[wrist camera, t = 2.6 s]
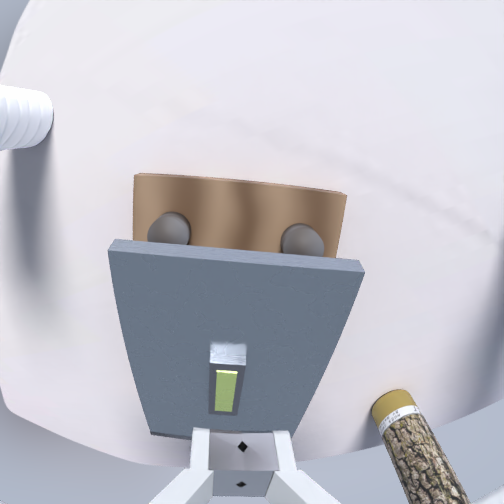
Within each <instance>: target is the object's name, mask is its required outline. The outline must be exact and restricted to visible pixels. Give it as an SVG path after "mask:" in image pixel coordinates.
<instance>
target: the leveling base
mask: <svg viewBox="0 0 504 504" xmlns="http://www.w3.org/2000/svg"><path fill="white" fill-rule="evenodd" d="M346 198H347V195H345V194H343V193H341V192H336V191H329V190H322V189H315V188H307V187H300V186H292V185H283V184H275V183H266V182H256V181H246V180H236V179H224V178H213V177H199V176H185V175H169V174H149V173H139V174H136V175H134V190H133V241H145V242H156V243H168V244H179V245H191V246H202V247H214V248H225V249H237V250H248V251H260V252H271V253H283V254H294V255H306V256H317V257H328V258H336V254H337V249H338V243H339V238H340V233H341V227H342V222H343V216H344V210H345V204H346Z"/></svg>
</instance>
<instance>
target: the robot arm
mask: <svg viewBox="0 0 504 504" xmlns="http://www.w3.org/2000/svg"><path fill="white" fill-rule="evenodd" d="M209 435H210V438H209ZM212 496H248V497H265V498H266V500H267V501H268V502H269V503H270V504H341V503H340V502H339V501H337V500H336V499H335V498H334V497H332V496H331V495H330V494H329V493H328V492H326V491H325V490H324V489H323V488H322V487H321V486H319V485H318V484H317V483H316V482H315V481H314V480H312V479H311V478H310V477H309V476H308V475H307V474H306V473H305V472H304V471H303V470H297V466H296V461H295V457H294V452H293V447H292V442H291V438H290V433H289V432H288V431H271V430H270V431H243V430H241V431H232V430H219V429H208V428H196V427H194V428H193V433H192V444H191V456H190V468H184V469H183V470H182V471H181V472H180V473H179V474H178V475H177V477H175V478H174V479H173V480H172V481H171V482H170V484H168V485H167V486H166V487H165V488H164V489H163V490H162V491H161V492H160V493H159V494H158V495H157V496H156V497H155V498H154V499H153V500H152V501H151V502H150V503H148V504H207V503H208V502H209V501H210V499H211V498H212ZM0 504H6V503H4V502H2V501H1V500H0ZM470 504H504V485H502V486H501V487H499V488H498V489H496V490H494V491H492V492H491V493H489V494H487V495H485V496H483V497H482V498H480V499H478V500H476V501H474V502H472V503H470Z"/></svg>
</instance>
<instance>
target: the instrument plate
mask: <svg viewBox="0 0 504 504" xmlns="http://www.w3.org/2000/svg"><path fill="white" fill-rule="evenodd" d="M108 257H109V264H110V270H111V276H112V282H113V288H114V294H115V299H116V304H117V309H118V314H119V319H120V324H121V329H122V333H123V337H124V342H125V346H126V350H127V354H128V358H129V362H130V366H131V370H132V373H133V377H134V381H135V384H136V388H137V391H138V394H139V398H140V401H141V404H142V407H143V411H144V414H145V417H146V420H147V423H148V426H149V429H150V433H151V435H157V436H164V437H171V438H179V439H187V440H192V433H193V428H194V427H196V428H208V429H219V430H232V431H241V430H243V431H270V430H271V431H288V432H289V433H290V438H292V436H293V434H294V432H295V430H296V429H297V427H298V425H299V423H300V421H301V419H302V417H303V415H304V413H305V411H306V409H307V407H308V405H309V403H310V401H311V399H312V397H313V395H314V393H315V391H316V389H317V387H318V385H319V383H320V381H321V378H322V376H323V374H324V372H325V370H326V368H327V365H328V363H329V361H330V359H331V357H332V354H333V352H334V350H335V347H336V345H337V343H338V340H339V338H340V336H341V333H342V331H343V329H344V326H345V324H346V321H347V319H348V316H349V314H350V311H351V309H352V306H353V304H354V301H355V298H356V296H357V293H358V290H359V288H360V285H361V282H362V280H363V277H364V274H365V271H364V269H363V267H362V265H361V264H360V262H359V260H351V259H340V258H328V257H317V256H306V255H294V254H283V253H271V252H260V251H248V250H237V249H225V248H214V247H202V246H191V245H179V244H168V243H156V242H145V241H133V240H121V239H115V240H114V241H113V243H112V244H111V246H110V247H109V249H108ZM209 438H210V435H209Z"/></svg>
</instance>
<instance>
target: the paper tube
mask: <svg viewBox="0 0 504 504" xmlns="http://www.w3.org/2000/svg"><path fill="white" fill-rule="evenodd" d="M372 416H373V418H374V421H375V423H376V425H377V427H378V430H379V432H380V435H381V437H382V439H383V442H384V444H385V446H386V449H387V451H388V453H389V455H390V458H391V460H392V463H393V465H394V467H395V470H396V472H397V474H398V477H399V479H400V482H401V484H402V487H403V489H404V492H405V494H406V497H407V499H408V502H409V504H470V501H469V499H468V497H467V495H466V493H465V491H464V489H463V487H462V485H461V483H460V482H459V480H458V478H457V476H456V474H455V472H454V470H453V468H452V467H451V465H450V463H449V461H448V459H447V457H446V455H445V454H444V452H443V450H442V448H441V446H440V445H439V443H438V441H437V439H436V438H435V436H434V434H433V432H432V431H431V429H430V427H429V425H428V424H427V422H426V420H425V418H424V417H423V415H422V413H421V412H420V410H419V408H418V407H417V405H416V403H415V402H414V400H413V398H412V397H411V395H410V394H409V393H408V392H407V391H405V390H394V391H391V392H389V393H387V394H385V395H383V396H382V397H381V398H379V399H378V400H377V401H376V403H375V404H374V406H373V409H372Z"/></svg>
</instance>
